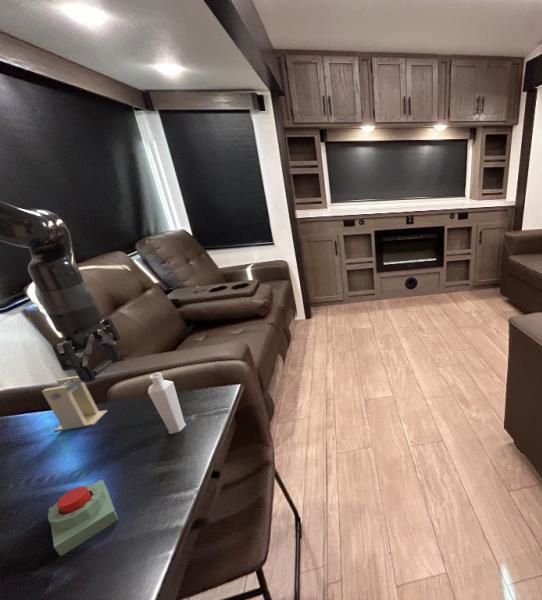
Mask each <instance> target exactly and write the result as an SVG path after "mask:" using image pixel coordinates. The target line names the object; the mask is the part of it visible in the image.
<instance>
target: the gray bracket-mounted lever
mask: <svg viewBox="0 0 542 600" xmlns="http://www.w3.org/2000/svg"><path fill="white" fill-rule="evenodd" d="M112 364H113V362H112V361H111V360H109V359H105V360H104V361H103V362H101V363H100V364H99V365H97V366H96V367H95V368H93V369H92V372H93V374H94V376H95V377H97V376H98V375H100V374H101V373H102V372H103V371H105V370H106V369H107V368H108V367H110V366H112ZM80 383H82V381H81V380H80V378H79V379H77V380H75V381H74V382H71V381H70V380H69V381H67V382H66V383H64V384H62V385H61V386H66V385H67V386H68V388H69V389H70V391H71V393H72V392H73V391H74V390H75V389H77V388H78V387H77V385H78V384H80ZM58 387H60V386H59V385H58Z"/></svg>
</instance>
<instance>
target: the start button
mask: <svg viewBox="0 0 542 600" xmlns="http://www.w3.org/2000/svg"><path fill="white" fill-rule="evenodd" d="M85 486H86V485H85ZM85 486H83V485H81V486H77V487H75V488H73V489H70V490H69V491H67V492H66V493H64V494H63V495H61V497H60V498H59V499H58V500H57V502H56V503H57V506H58V507H59V509H60V511H61V512H62V513H63V514H68V513H72V512H74V511H76V510H78V509H79V508H81V507H83V506H84V505H85V504H86V503H87V502H88V501H89V500H90V499H91V494H90V492H89V491H88V489H87V487H85Z"/></svg>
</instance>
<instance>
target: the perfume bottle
mask: <svg viewBox="0 0 542 600" xmlns="http://www.w3.org/2000/svg"><path fill="white" fill-rule="evenodd" d="M149 380H150V381H151V383H152V384H151V385H149V386H148V389H147V390H148V391H147V394H148V395H149V397H150V399H151V401H152V403H153V405H154V407H155V408H156V410H157V412H158V414H159V416H160V417H161V419H162V421H163V423H164V425H165V427H166V428H167V430H168V434H169V435H171V434H177V433H180V432H181V431H182V430H183V429H184V428H185V427H186V426H187V423H186V422H185V421H184V420H185V419H184V416H183V413H182V409H181V406H180V405H181V404H180V402H179V399H178V395H177V391H176V387H175V384H174V381H171V380H167V379H164V377H163V374H162V372H155V373H152V374H150V375H149Z"/></svg>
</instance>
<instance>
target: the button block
mask: <svg viewBox="0 0 542 600" xmlns="http://www.w3.org/2000/svg"><path fill="white" fill-rule="evenodd" d="M85 487H87V489H88V491H89V492H90V494H91V499H90V500H89V501H88V502H87V503H86V504H85V505H84V506H83V507H81V508H79V509H78V510H76V511H74V512H72V513H68V514H63V513H62V512H61V511H60V509H59V507H58V506H57V502H56V503H55V504H53V506H50V507H49V508H48V513H47V519H48V520H47V521H48V523H49V524H50V528H51V535H52V543H53V548H54V550H55V551H56V553H57V555H58V556H59V557H62V556H64V555H65V554H67V553H68V552H70V551H71V550H73V549H74V548H77V547H78V546H80V545H81V544H82V543H84V542H86V541H87V540H89V539H90V538H92V537H94V536H95V535H97V534H98V533H100V532H101V531H103V530H105V529H106V528H108V527H110V526H111V525H112V524H114V523H116V522H118V521H119V518H118V515H117V512H116V509H115V506H114V503H113V501H112V498H111V496H110V491H109V490H108V487H107V485H106V483H105V481H104V480H103V479H100V480H98V481H95V482H94V483H92V484H88V485H85Z"/></svg>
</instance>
